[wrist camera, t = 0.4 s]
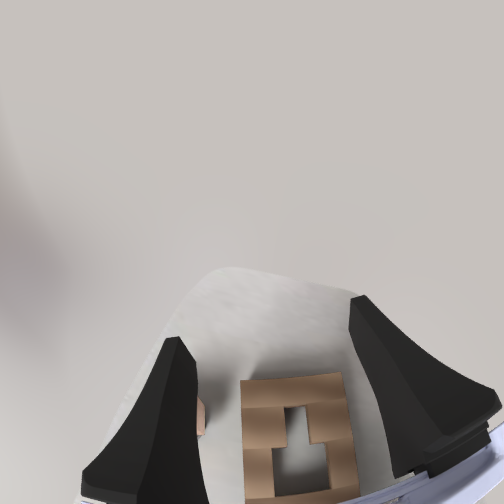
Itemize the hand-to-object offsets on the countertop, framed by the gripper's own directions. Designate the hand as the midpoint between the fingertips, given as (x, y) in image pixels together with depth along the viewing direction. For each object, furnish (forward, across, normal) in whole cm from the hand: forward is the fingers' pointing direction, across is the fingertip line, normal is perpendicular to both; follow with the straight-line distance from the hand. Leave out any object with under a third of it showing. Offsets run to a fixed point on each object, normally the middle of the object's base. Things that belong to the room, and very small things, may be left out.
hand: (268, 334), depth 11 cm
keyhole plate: (0, +1, +21) cm, 21 cm away
